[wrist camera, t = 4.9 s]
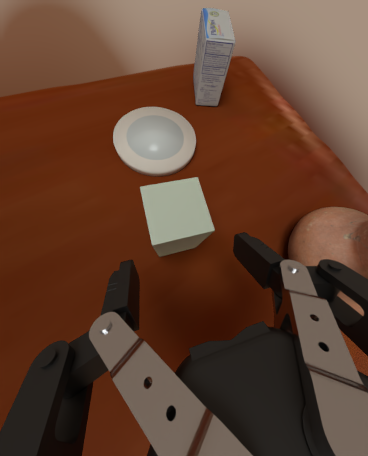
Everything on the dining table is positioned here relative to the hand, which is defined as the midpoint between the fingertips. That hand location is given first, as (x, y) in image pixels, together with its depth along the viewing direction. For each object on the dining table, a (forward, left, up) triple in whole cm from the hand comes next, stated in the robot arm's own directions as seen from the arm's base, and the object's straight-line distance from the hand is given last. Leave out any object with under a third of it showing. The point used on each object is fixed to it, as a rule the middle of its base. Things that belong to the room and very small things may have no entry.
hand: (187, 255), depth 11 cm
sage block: (0, +4, -9) cm, 9 cm away
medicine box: (+13, +31, -9) cm, 35 cm away
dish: (+1, +20, -9) cm, 22 cm away
